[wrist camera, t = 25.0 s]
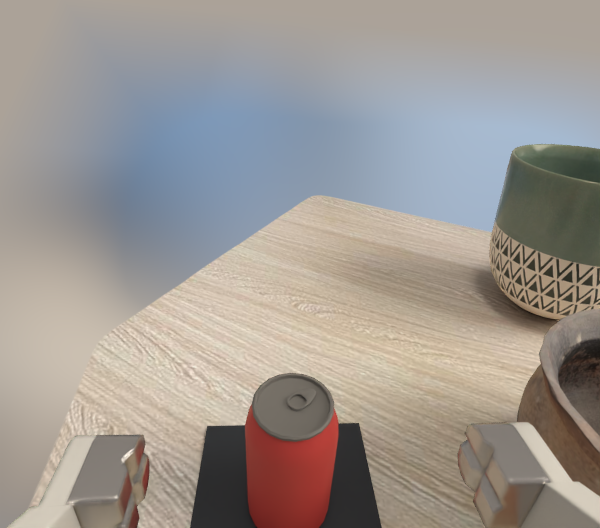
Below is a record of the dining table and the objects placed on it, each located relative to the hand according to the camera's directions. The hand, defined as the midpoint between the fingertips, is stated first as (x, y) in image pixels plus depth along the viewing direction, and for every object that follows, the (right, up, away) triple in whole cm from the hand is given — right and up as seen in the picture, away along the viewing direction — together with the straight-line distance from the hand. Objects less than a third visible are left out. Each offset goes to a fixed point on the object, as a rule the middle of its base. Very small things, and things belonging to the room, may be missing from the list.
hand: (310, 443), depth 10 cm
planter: (+36, -2, +50) cm, 62 cm away
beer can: (-1, -15, +23) cm, 28 cm away
